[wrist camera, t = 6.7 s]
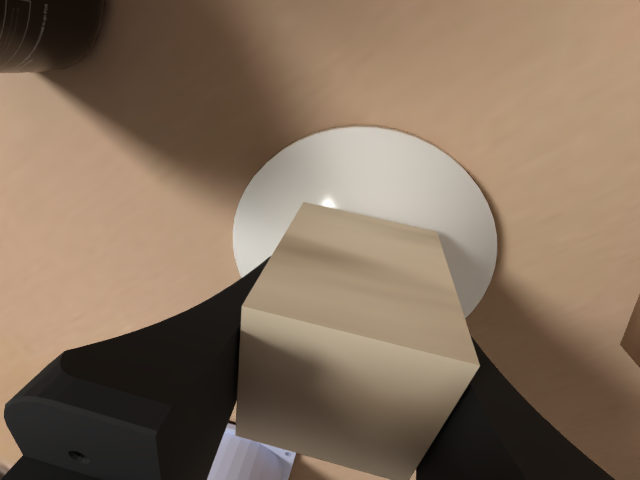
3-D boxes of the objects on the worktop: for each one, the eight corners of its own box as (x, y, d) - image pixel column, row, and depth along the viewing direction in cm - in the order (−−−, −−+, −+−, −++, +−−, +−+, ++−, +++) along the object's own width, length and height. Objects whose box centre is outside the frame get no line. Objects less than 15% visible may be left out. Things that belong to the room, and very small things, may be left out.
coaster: (432, 365, 17) (434, 378, 16) (233, 310, 17) (226, 321, 17) (547, 164, 11) (558, 171, 11) (249, 93, 12) (241, 95, 11)
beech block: (397, 329, 14) (406, 484, 9) (288, 302, 14) (235, 435, 9) (436, 231, 12) (479, 365, 6) (303, 201, 12) (241, 306, 7)
